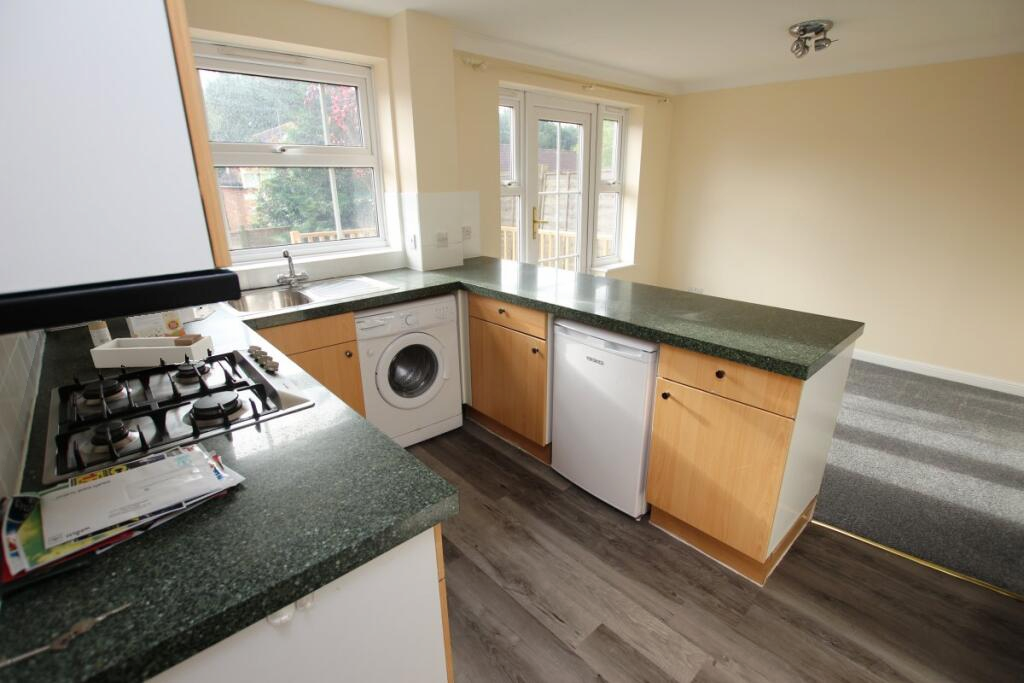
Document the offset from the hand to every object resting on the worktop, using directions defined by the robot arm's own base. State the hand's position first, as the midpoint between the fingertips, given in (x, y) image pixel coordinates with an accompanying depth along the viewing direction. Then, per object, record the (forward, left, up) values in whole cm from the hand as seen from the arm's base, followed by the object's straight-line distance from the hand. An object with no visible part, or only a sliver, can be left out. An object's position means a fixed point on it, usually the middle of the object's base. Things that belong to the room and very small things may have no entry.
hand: (116, 244), depth 140 cm
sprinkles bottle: (+3, -10, -33) cm, 35 cm away
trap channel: (+10, +10, -33) cm, 36 cm away
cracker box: (-10, -2, -33) cm, 35 cm away
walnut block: (+10, +20, -30) cm, 38 cm away
